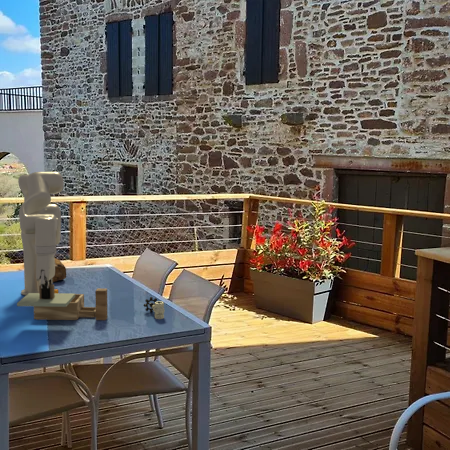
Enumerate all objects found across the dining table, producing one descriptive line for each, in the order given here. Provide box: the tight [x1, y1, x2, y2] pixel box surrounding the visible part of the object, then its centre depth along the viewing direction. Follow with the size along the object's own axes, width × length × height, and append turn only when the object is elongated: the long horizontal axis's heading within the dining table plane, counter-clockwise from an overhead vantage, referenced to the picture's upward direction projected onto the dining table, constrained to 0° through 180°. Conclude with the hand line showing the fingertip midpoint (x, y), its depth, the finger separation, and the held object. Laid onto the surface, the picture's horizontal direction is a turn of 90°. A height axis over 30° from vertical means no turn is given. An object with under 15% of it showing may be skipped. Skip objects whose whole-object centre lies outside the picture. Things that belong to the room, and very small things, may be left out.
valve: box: [143, 296, 165, 320], centre depth 250 cm, size 7×7×12 cm
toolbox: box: [33, 293, 96, 321], centre depth 249 cm, size 14×24×7 cm, turn 91°
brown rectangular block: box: [94, 288, 108, 321], centre depth 244 cm, size 4×4×12 cm
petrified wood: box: [52, 257, 67, 283], centre depth 312 cm, size 19×13×10 cm
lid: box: [16, 284, 76, 307], centre depth 231 cm, size 15×18×6 cm
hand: (47, 297), depth 231 cm, fingers closed on lid, 2 cm apart
